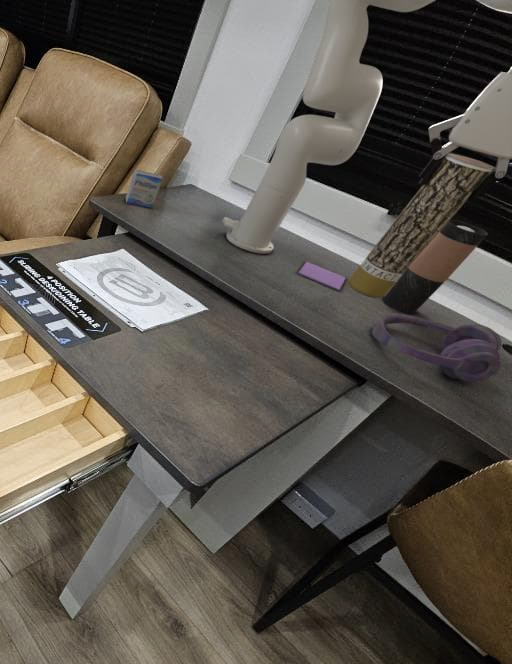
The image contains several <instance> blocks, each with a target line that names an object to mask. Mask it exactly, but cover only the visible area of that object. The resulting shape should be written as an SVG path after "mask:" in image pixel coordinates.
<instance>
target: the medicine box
mask: <svg viewBox="0 0 512 664" xmlns="http://www.w3.org/2000/svg"><path fill="white" fill-rule="evenodd" d="M131 177H132V178H131V181H130V184H129V185H128V189H127V193H126V195H125V202H126V204H129V205H133V206H138V207H143V208H147V209H152V208H153V206H154V203H155V200H156V198H157V196H158V193H159V191H160V187H161V185H162V182H163V176H162V174H158V173H152V172H150V171H149V172H148V171H144V170H140V169H134V172H133V175H132V176H131Z"/></svg>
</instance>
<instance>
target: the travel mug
mask: <svg viewBox="0 0 512 664" xmlns="http://www.w3.org/2000/svg"><path fill="white" fill-rule="evenodd" d="M487 236H488V232H487V231H485V229H482V228H481V227H478V226H476V225H474V224H471V223H467V222H465V221H461V220H456V219H450V220H449V222H448V223H447V224H446V225H445V226H444V227H443V228H442V230H441V231H440V232H439V233H438V234H437V235H436V237H435V238H434V239H433V240H432V241H431V242H430V243H429V245H428V246H427V247H426V248H425V249H424V250H423V251H422V253H421V254H420V255H419V256H418V257H417V258H416V260H415V261H414V262H413V263H412V264H411V265H410V266H409V268H408V269H407V270H406V271H405V272H404V273H403V275H402V276H401V277H400V278H399V279H398V280H397V281H396V282H395V284H394V285H393V286H392V287H391V288H390V289H389V290H388V292H387V293H386V294H385V295H384V296H383V302H384V303H385V304H386V305H388V306H389V307H391V308H393V309H395V310H397V311H400V312H403V313H406V314H415V312H417V311H418V310H420V308H421V307H422V306H423V305H424V304H425V303H426V302H427V301H428V300H429V299H430V298H431V297H432V296H433V295H434V293H436V291H438V289H439V288H441V286H443V284H444V283H445V282H446V281H447V280H448V279H449V278H450V277H451V276H452V275H453V274H454V272H455V271H456V270H457V269H458V268H459V267H460V266H461V265H462V264H463V263H464V261H466V259H468V257H469V256H470V255H471V254H472V253H473V251H474V250H475V249H477V247H478V246H479V245H480V244H481V243H482V242H483V240H484V239H485V238H487Z"/></svg>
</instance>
